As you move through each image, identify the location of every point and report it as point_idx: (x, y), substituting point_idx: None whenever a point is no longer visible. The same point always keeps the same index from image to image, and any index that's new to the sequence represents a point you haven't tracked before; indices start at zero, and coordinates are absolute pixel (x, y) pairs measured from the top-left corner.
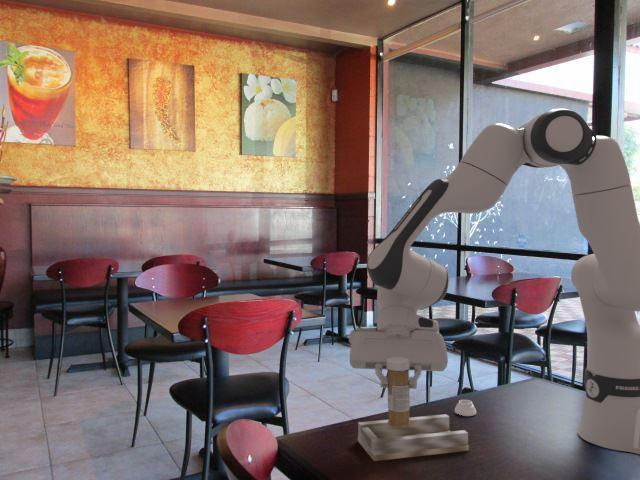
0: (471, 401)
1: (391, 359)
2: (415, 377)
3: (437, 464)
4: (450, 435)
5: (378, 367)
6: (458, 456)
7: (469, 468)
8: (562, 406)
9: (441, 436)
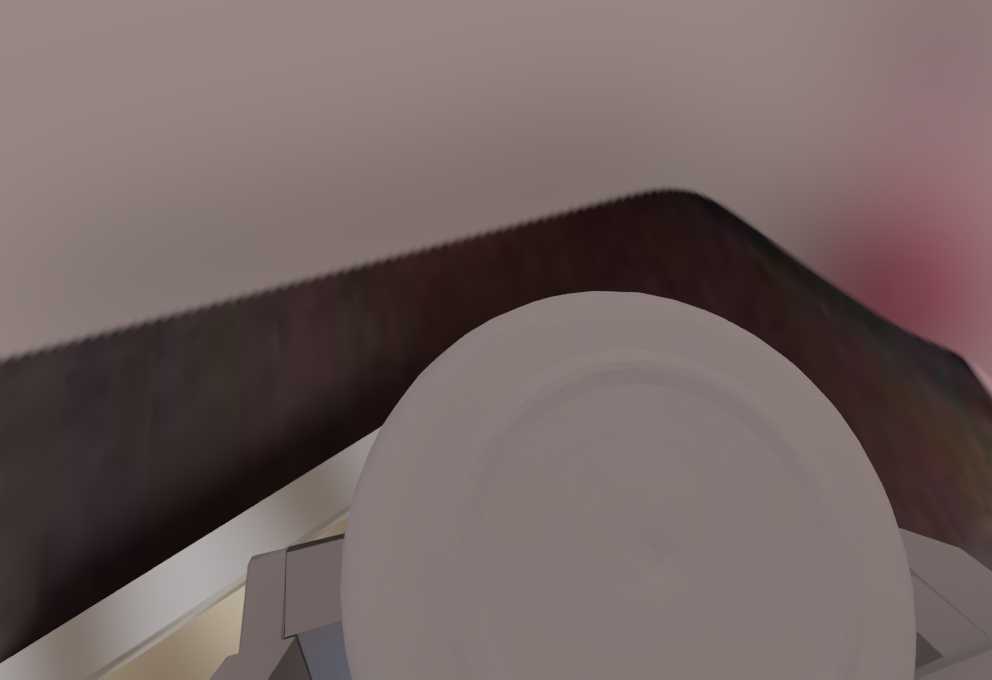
0: None
1: (791, 476)
2: (257, 642)
3: (208, 412)
4: (71, 619)
5: (928, 573)
6: (75, 563)
7: (26, 419)
8: None
9: (144, 576)
